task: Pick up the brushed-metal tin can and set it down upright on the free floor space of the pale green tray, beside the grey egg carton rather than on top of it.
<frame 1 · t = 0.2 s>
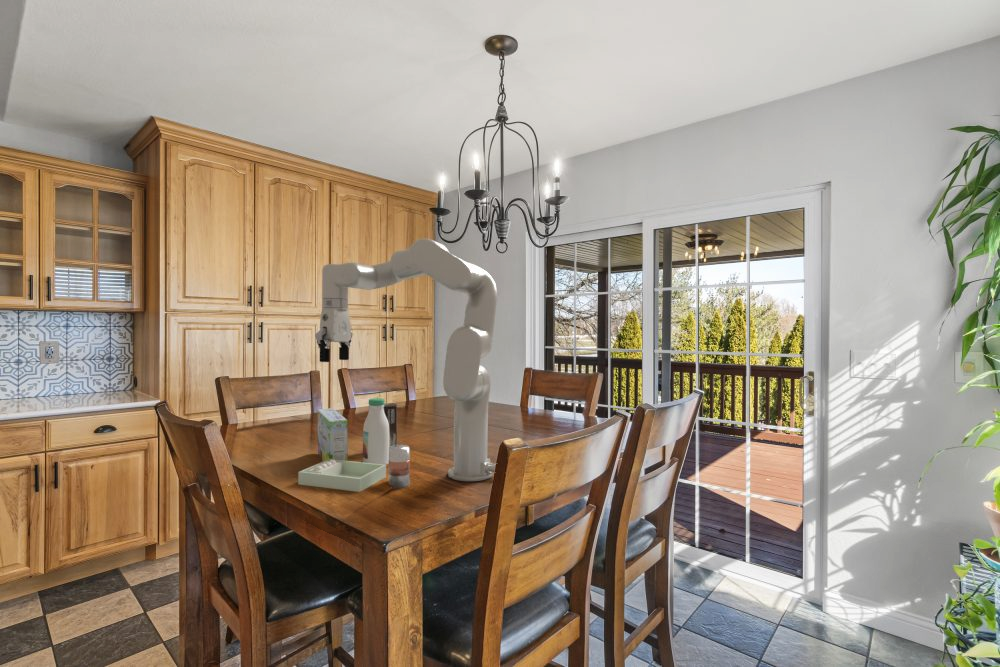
hand: (334, 360, 151), 31 cm above the table, tool pointing down, fingers open, 9 cm apart
milk bottle: (375, 466, 148), on the table
pale green tray: (343, 483, 131), on the table
egg carton: (325, 478, 133), point 1 cm above the table, touching pale green tray
tin can: (398, 485, 130), on the table
snack box: (331, 463, 150), on the table
coffee box: (383, 454, 162), on the table
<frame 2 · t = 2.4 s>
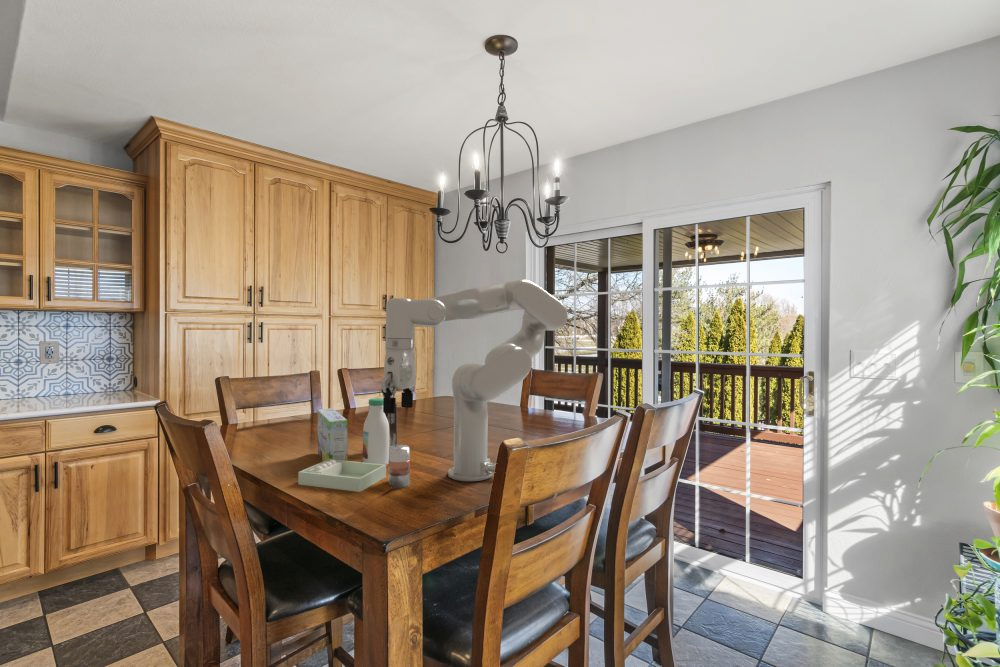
hand: (398, 410, 130), 20 cm above the table, tool pointing down, fingers open, 9 cm apart
nothing on the table moved.
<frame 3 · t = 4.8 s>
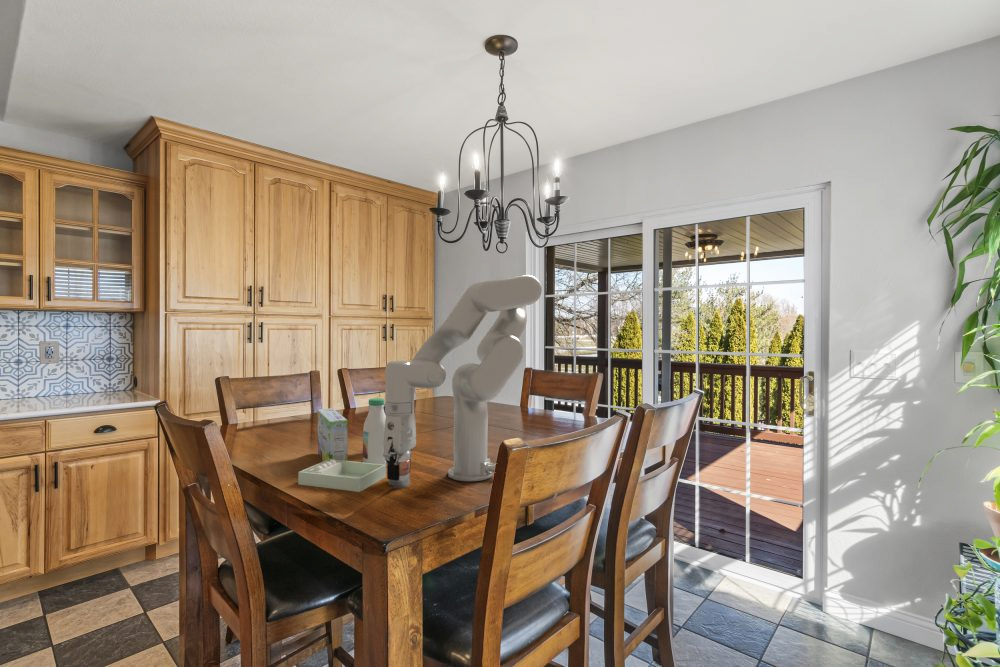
hand: (399, 475, 130), 3 cm above the table, tool pointing down, fingers closed on tin can, 5 cm apart
tin can: (398, 485, 130), on the table, touching gripper
everything else where it was.
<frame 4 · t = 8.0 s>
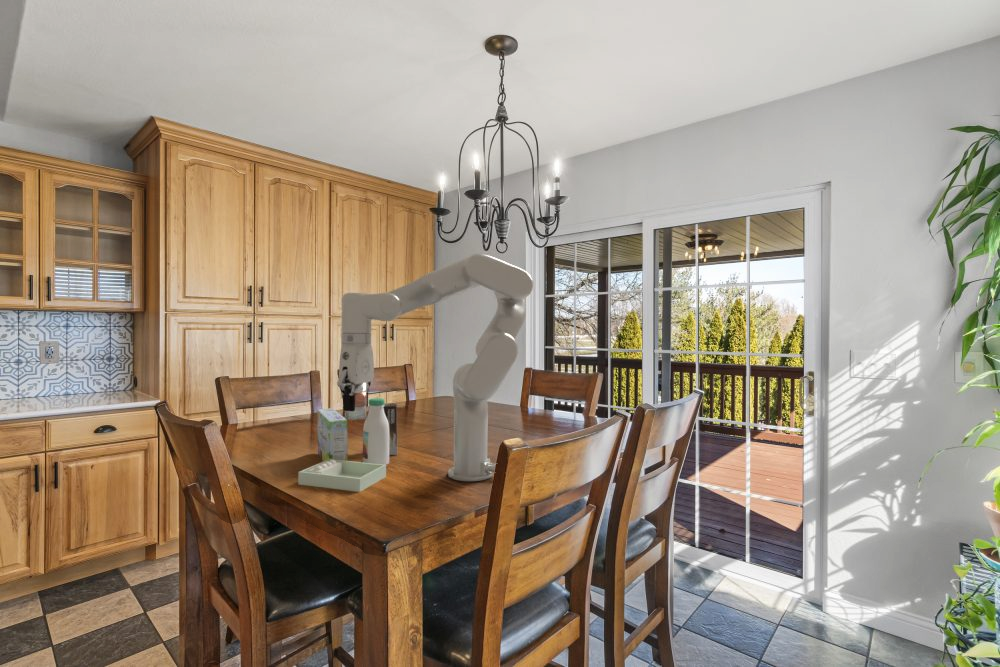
hand: (355, 408, 130), 20 cm above the table, tool pointing down, fingers closed on tin can, 5 cm apart
tin can: (355, 417, 130), point 18 cm above the table, touching gripper
everything else where it was.
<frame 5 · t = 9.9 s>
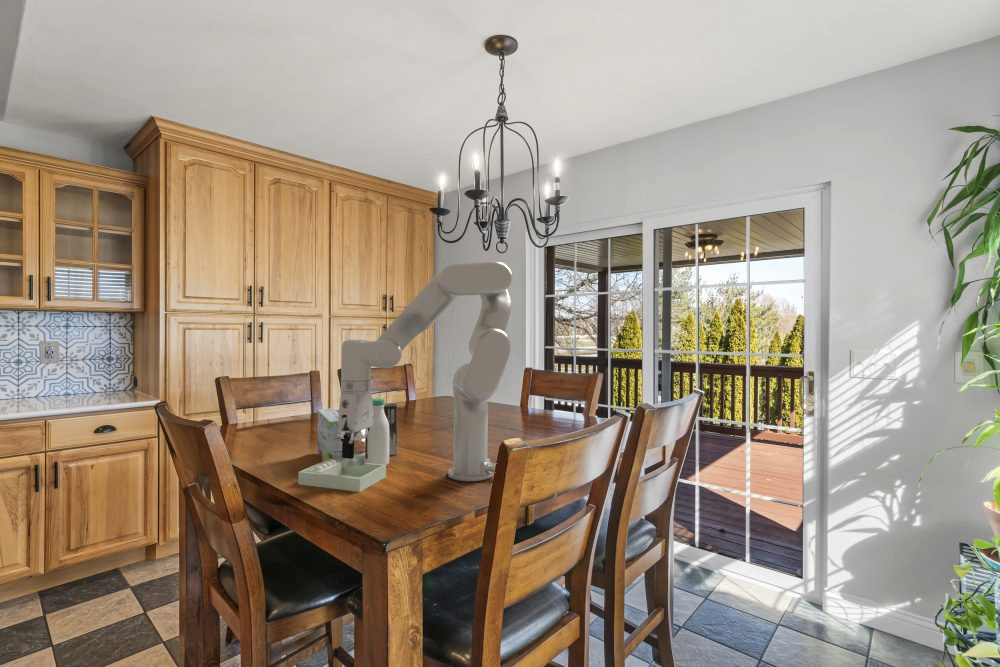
hand: (354, 454, 130), 8 cm above the table, tool pointing down, fingers closed on tin can, 5 cm apart
tin can: (354, 463, 130), point 6 cm above the table, touching gripper
everything else where it was.
when the fingers open (5 cm above the table, at t = 11.4 s): tin can drops 2 cm, resting on pale green tray.
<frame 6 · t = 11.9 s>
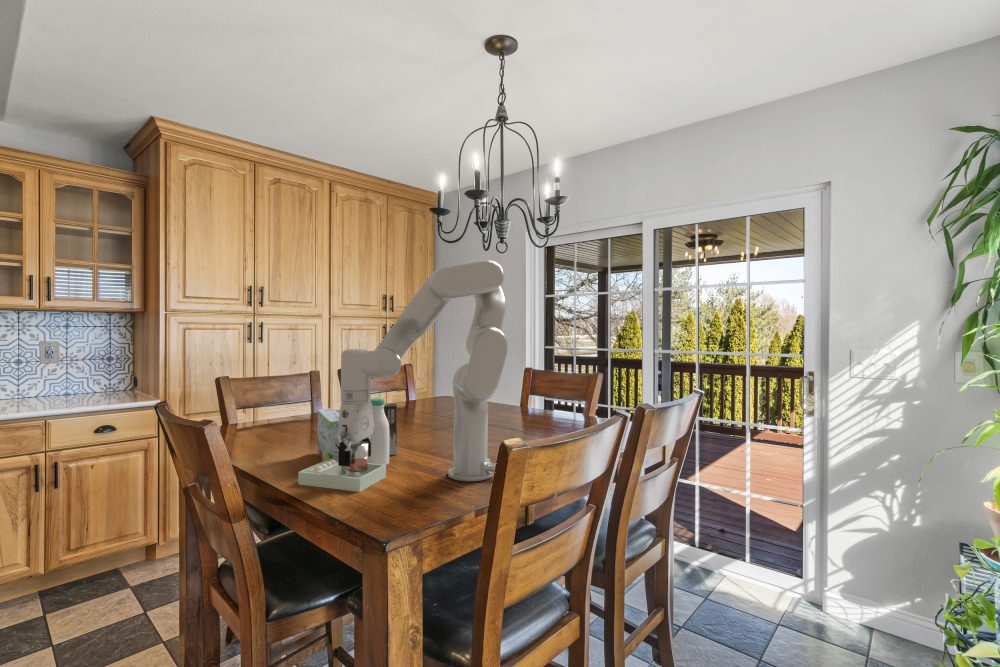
hand: (355, 460, 130), 6 cm above the table, tool pointing down, fingers open, 9 cm apart
tin can: (356, 481, 130), point 1 cm above the table, touching pale green tray
everything else where it was.
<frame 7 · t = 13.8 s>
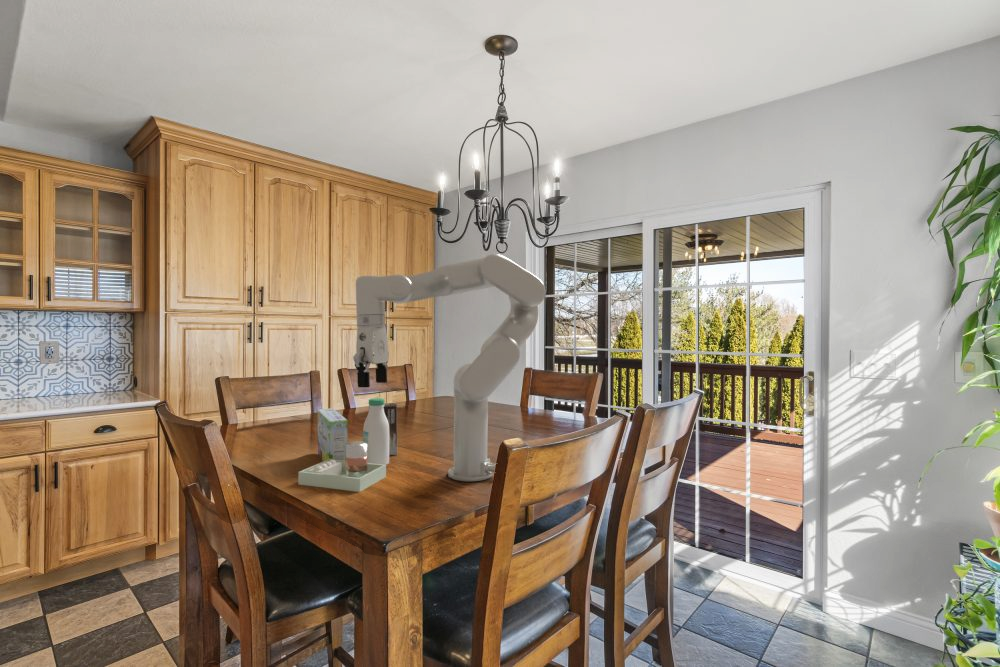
hand: (373, 384, 134), 26 cm above the table, tool pointing down, fingers open, 9 cm apart
nothing on the table moved.
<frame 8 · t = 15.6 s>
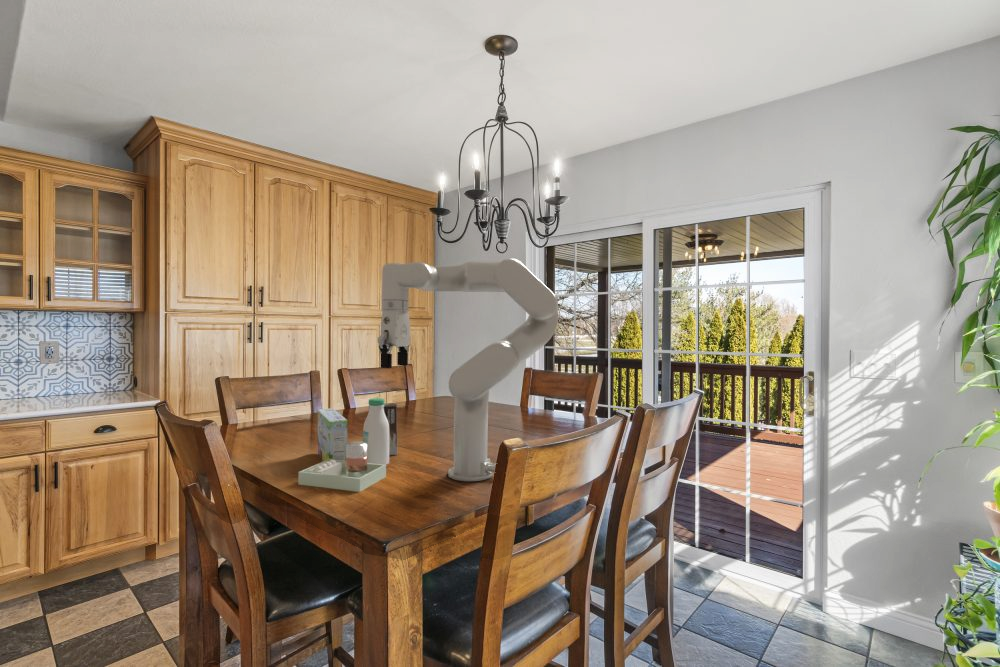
hand: (394, 366, 142), 30 cm above the table, tool pointing down, fingers open, 9 cm apart
nothing on the table moved.
at the end: tin can inside the target area on the pale green tray (0.6 cm from its centre), point 0.8 cm above the pale green tray's base; tin can tilted 0°; the gripper is holding nothing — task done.
